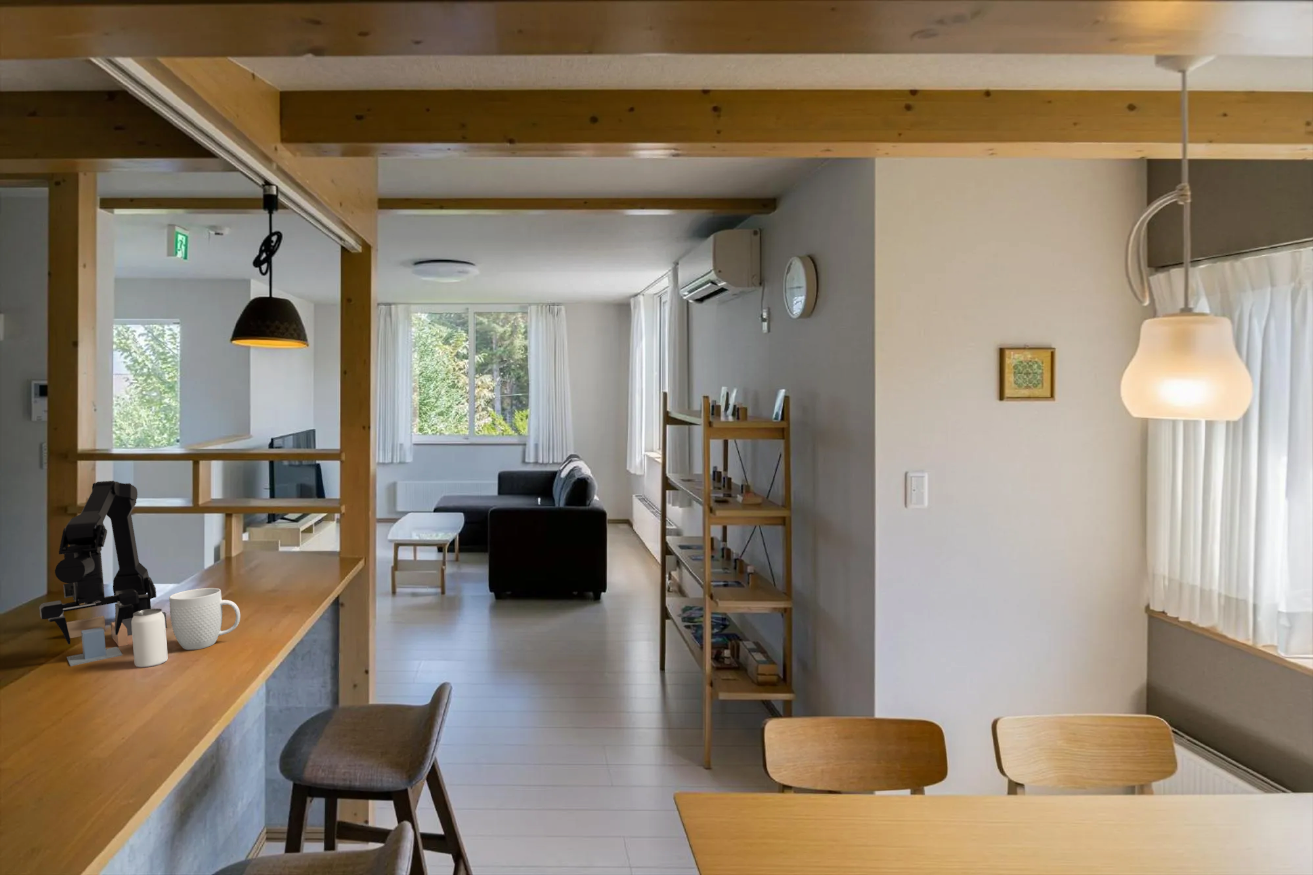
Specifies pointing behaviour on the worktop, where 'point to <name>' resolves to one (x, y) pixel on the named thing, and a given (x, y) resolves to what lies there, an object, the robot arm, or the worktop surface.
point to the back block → (85, 625)
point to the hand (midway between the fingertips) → (93, 639)
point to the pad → (80, 658)
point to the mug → (199, 617)
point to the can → (149, 638)
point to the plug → (93, 643)
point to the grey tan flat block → (125, 631)
